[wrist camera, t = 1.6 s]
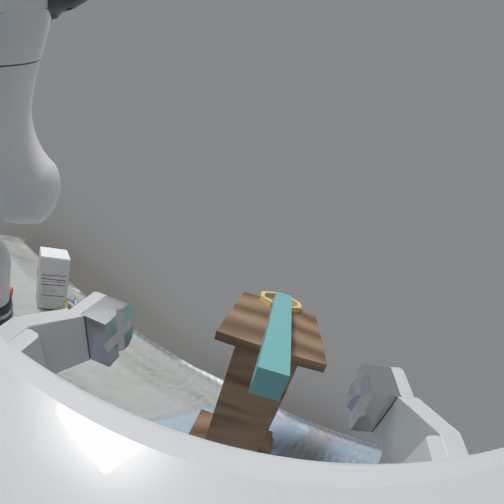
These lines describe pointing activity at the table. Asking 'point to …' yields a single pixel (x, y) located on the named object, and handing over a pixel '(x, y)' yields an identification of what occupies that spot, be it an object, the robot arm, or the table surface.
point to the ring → (70, 302)
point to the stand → (241, 372)
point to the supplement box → (52, 278)
